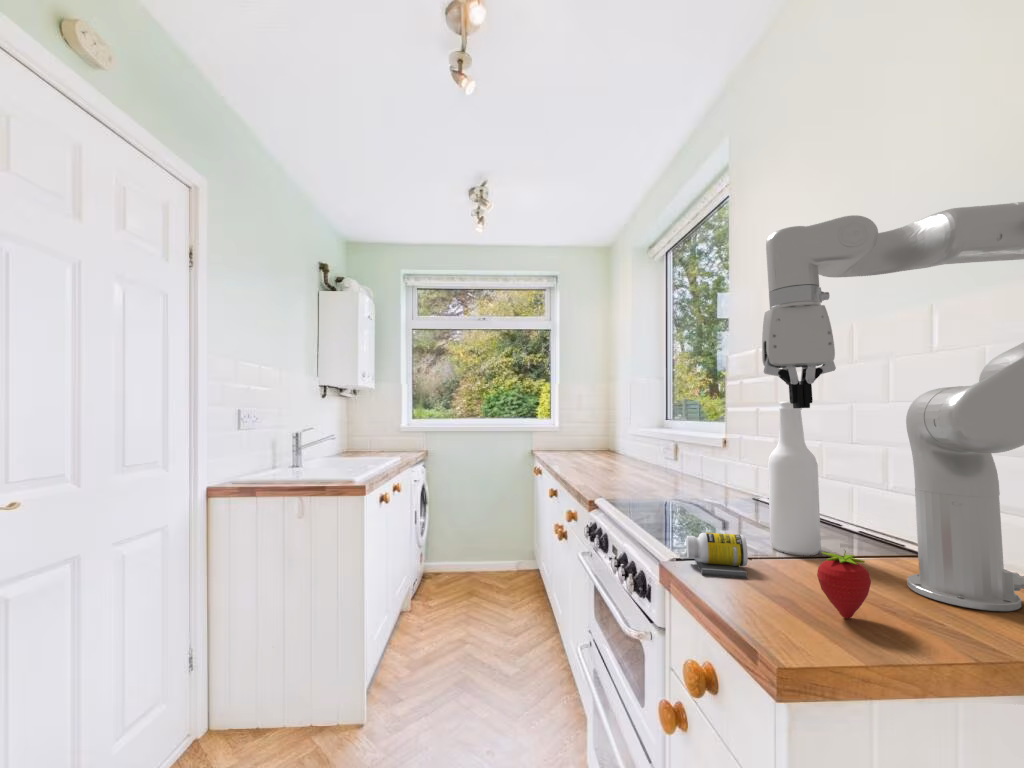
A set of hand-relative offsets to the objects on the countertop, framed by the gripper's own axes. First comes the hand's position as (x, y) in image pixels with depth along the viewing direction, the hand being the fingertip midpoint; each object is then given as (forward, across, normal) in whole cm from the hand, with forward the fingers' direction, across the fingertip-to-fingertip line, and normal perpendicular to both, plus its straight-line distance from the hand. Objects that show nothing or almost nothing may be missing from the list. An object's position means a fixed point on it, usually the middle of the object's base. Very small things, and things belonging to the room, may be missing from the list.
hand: (801, 407), depth 81 cm
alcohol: (+29, -3, -19) cm, 35 cm away
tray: (+28, +14, -5) cm, 32 cm away
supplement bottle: (+25, +9, -4) cm, 27 cm away
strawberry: (+29, +1, +15) cm, 32 cm away
